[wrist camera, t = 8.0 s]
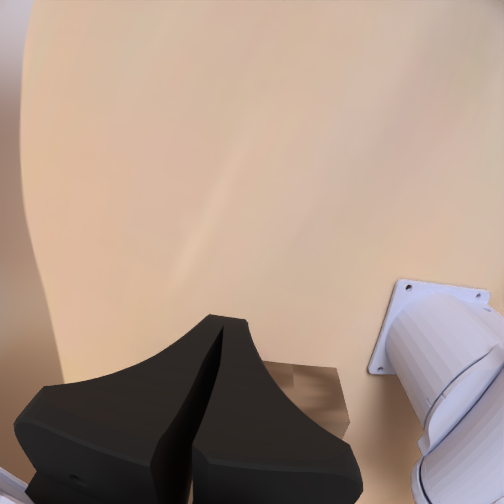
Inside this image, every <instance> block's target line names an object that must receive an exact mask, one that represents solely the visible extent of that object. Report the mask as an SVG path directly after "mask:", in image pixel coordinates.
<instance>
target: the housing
mask: <svg viewBox="0 0 504 504" xmlns="http://www.w3.org/2000/svg"><path fill="white" fill-rule="evenodd" d="M262 362H263V363H264V365H265V367H266V368H267V370H268V372H269V373H270V375H271V376H272V378H273V379H274V381H275V382H276V383H277V385H278V386H279V387H280V389H281V390H282V391H283V392H284V393H285V394H286V396H287V397H288V398H289V399H290V400H291V401H292V402H293V403H294V404H295V405H296V406H297V407H298V408H299V409H300V410H301V411H302V412H303V413H304V414H306V415H307V416H308V417H309V418H311V419H312V420H313V421H314V422H316V423H317V424H318V425H319V426H321V427H322V428H324V429H325V430H327V431H328V432H330V433H332V434H333V435H335V436H336V437H338V438H339V439H341V440H342V438H343V436H344V434H345V432H346V430H347V428H348V426H349V423H350V420H349V416H348V412H347V408H346V404H345V400H344V396H343V392H342V388H341V384H340V380H339V376H338V373H337V369H336V368H328V367H315V366H304V365H294V364H285V363H276V362H268V361H262ZM192 502H193V480H192V484H191V490H190V495H189V500H188V504H192Z"/></svg>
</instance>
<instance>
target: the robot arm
mask: <svg viewBox="0 0 504 504" xmlns="http://www.w3.org/2000/svg"><path fill="white" fill-rule="evenodd" d="M407 285H410V287H409V289H406V286H407ZM477 294H478V296H477ZM476 296H477V297H476ZM489 299H490V292H489V291H488V290H483V289H476V288H468V287H460V286H453V285H445V284H437V283H430V282H422V281H415V280H407V279H400V280H398V281H397V282H396V284H395V287H394V291H393V294H392V298H391V301H390V304H389V308H388V311H387V314H386V317H385V320H384V323H383V326H382V329H381V332H380V335H379V338H378V341H377V344H376V347H375V349H374V352H373V355H372V358H371V360H370V363H369V366H368V370H369V373H371V374H393V375H397V376H398V378H399V380H400V382H401V384H402V386H403V388H404V390H405V392H406V394H407V396H408V398H409V400H410V402H411V405H412V407H413V409H414V411H415V413H416V415H417V417H418V419H419V422H420V424H421V426H422V428H423V430H424V433H423V435H422V437H421V438H420V439H419V440H418V442H417V444H418V446H419V449H420V451H421V454H422V456H423V457H421V458H420V459H419V460H418V461H417V462H416V464H415V465H414V467H413V469H412V472H411V489H412V493H413V497H414V501H415V503H416V504H504V317H503V316H502V315H500V314H499V313H498V312H497V311H496V310H494V309H493V308H492V307H491V306H489V305H488V302H489ZM380 367H382V368H381V369H378V368H380ZM14 431H15V435H16V437H17V439H18V442H19V444H20V445H21V447H22V449H23V450H24V452H25V454H26V455H27V457H28V458H29V460H30V462H31V463H32V465H33V466H34V468H35V469H36V471H37V472H36V474H35V475H34V477H33V478H32V480H31V482H30V483H29V485H28V484H26V483H24V482H23V481H21V480H20V479H18V478H16V477H15V476H13V475H12V474H10V473H9V472H7V471H5V470H4V469H2V468H1V467H0V504H188V500H189V495H190V490H191V484H192V480H193V502H192V504H354V503H355V502H356V501H357V500H358V499H359V497H360V495H361V494H362V492H363V481H362V477H361V473H360V469H359V466H358V464H357V461H356V459H355V456H354V454H353V452H352V449H351V447H350V445H349V444H348V443H346V442H344V441H343V440H341V439H339V438H338V437H336V436H335V435H333V434H332V433H330V432H328V431H327V430H325V429H324V428H322V427H321V426H319V425H318V424H317V423H316V422H314V421H313V420H312V419H311V418H309V417H308V416H307V415H306V414H304V413H303V412H302V411H301V410H300V409H299V408H298V407H297V406H296V405H295V404H294V403H293V402H292V401H291V400H290V399H289V398H288V397H287V396H286V394H285V393H284V392H283V391H282V390H281V389H280V387H279V386H278V385H277V383H276V382H275V381H274V379H273V378H272V376H271V375H270V373H269V372H268V370H267V368H266V367H265V365H264V363H263V362H262V360H261V358H260V356H259V354H258V352H257V349H256V347H255V345H254V343H253V340H252V337H251V334H250V331H249V327H248V322H247V321H246V320H245V319H238V318H231V317H224V316H218V315H211V314H209V315H208V316H206V317H205V318H204V319H203V320H202V321H201V322H200V323H198V324H197V325H196V326H195V327H194V328H193V329H191V330H190V331H189V332H188V333H186V334H185V335H184V336H183V337H181V338H180V339H179V340H177V341H176V342H175V343H173V344H172V345H170V346H169V347H167V348H166V349H164V350H163V351H161V352H160V353H158V354H156V355H155V356H153V357H151V358H149V359H147V360H145V361H143V362H141V363H139V364H136V365H134V366H131V367H129V368H126V369H123V370H121V371H118V372H115V373H113V374H109V375H106V376H102V377H99V378H95V379H91V380H86V381H81V382H76V383H69V384H61V385H53V386H44V387H43V388H42V389H41V390H40V391H39V392H38V393H37V394H36V395H35V397H34V398H33V399H32V400H31V401H30V403H29V404H28V405H27V406H26V408H25V409H24V410H23V411H22V412H21V414H20V415H19V416H18V417H17V419H16V420H15V422H14Z"/></svg>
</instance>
